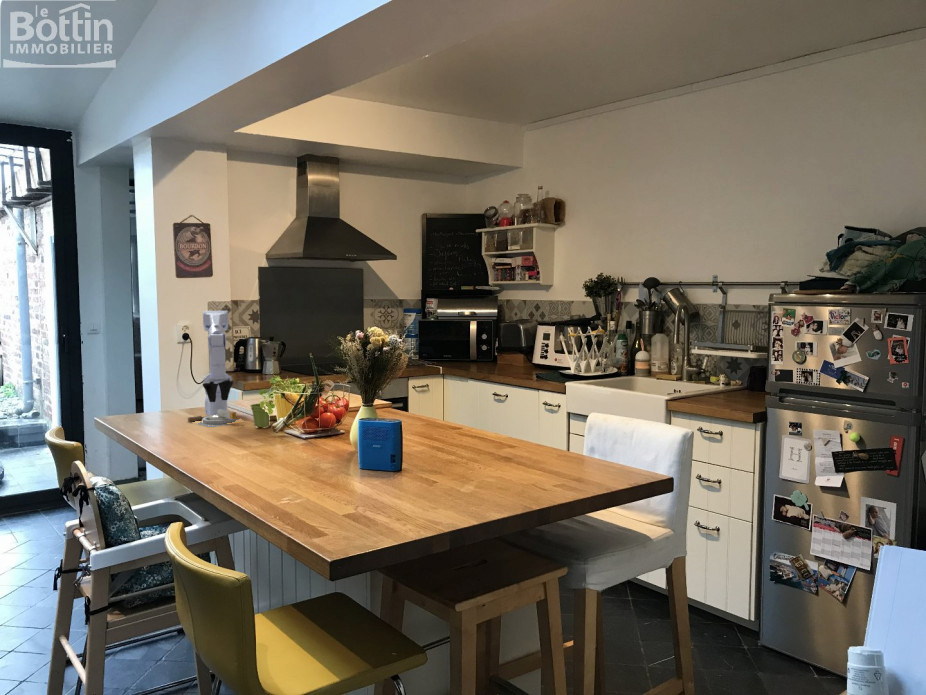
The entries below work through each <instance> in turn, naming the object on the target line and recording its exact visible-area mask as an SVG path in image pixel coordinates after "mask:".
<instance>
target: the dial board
mask: <svg viewBox="0 0 926 695" xmlns="http://www.w3.org/2000/svg"><path fill="white" fill-rule="evenodd" d="M204 417H205V416H204ZM236 418H237V417H236ZM236 418H235V419H226V420H209V417H205V418H203V419H202V420H203V423H202V422H200V423H198V426H201V425H202V426H203V427H206V428H210V427H211V428H216V427H223V425H224V426H229V424H227V423H232V422H235V421H236V420H239V419H236ZM208 425H209V426H208ZM212 425H213V426H212Z"/></svg>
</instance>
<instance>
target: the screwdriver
mask: <svg viewBox="0 0 926 695" xmlns="http://www.w3.org/2000/svg"><path fill="white" fill-rule="evenodd" d="M205 417H209V415H206V416H202V415H197V416H196V415H195V416H189V417H188V418H187V423H189V422H195V421H202V420H203V418H205Z"/></svg>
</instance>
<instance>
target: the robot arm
mask: <svg viewBox="0 0 926 695" xmlns="http://www.w3.org/2000/svg"><path fill="white" fill-rule="evenodd" d="M202 324H203V329H204V331H205V332H208V334H207V349H208V353H209V356H208V357H209V373H208V374H206V375H205V377H204V378H203V383H202V387H203V388H204V390H205V391H204V392H205V393H204V394H206V397H205V399H204V413H205V415H206V414H207V415H206V416H209V415H213V414H217V410H218V409H223V410H227V411H228V399H229V395H230V393H231V389H232V386H233V384H234V381H232V375H229V374H228V373H226V372H227V371H226V370H227V368H226V366H227V365H226V348H227V335H226V333H225V331H227V330H228V328H229V311H228V310H203V312H202Z"/></svg>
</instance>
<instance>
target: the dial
mask: <svg viewBox="0 0 926 695" xmlns="http://www.w3.org/2000/svg"><path fill="white" fill-rule="evenodd" d="M208 416H209V420H226V419H235V418H237V412H236V411H232V410H228V409H227V410H223V409H218V410H217V414H213V415H208Z"/></svg>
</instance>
